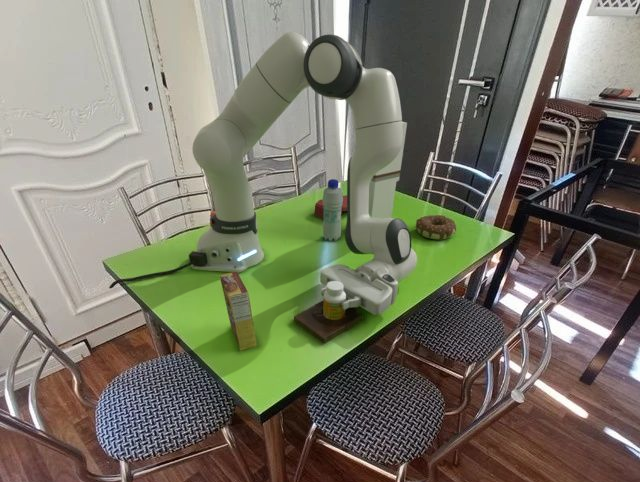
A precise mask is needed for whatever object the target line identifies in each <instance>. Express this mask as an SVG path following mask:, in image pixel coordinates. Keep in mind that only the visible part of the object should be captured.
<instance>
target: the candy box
mask: <svg viewBox="0 0 640 482" xmlns="http://www.w3.org/2000/svg"><path fill="white" fill-rule="evenodd" d="M219 279H220V284H221V288H222V292H223V297H224V301H225V306H226V310H227V315H228V319H229V325H230V328H231V331H232V334H233V336H234V338H235V340H236V343H237V346H238V349H239V351H241V352H243V351H245V350H249V349H252V348H256V347H257V346H258V345H257V339H256V332H255V325H254V320H253V319H254V318H253V313H252V312H253V311H252V307H251V301H250V300H251V299H250V295H249V291H248V289H247V287H246V285H245V284H244V282H243V281H242V278H241V276H240V275H239V272H226V273H224V274H220V275H219Z"/></svg>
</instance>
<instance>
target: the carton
mask: <svg viewBox="0 0 640 482" xmlns="http://www.w3.org/2000/svg"><path fill="white" fill-rule="evenodd" d="M314 204H315V205H314V211H313V216H315V217H318V218H319V219H320V218H321V219H322V220H324V206H323V200H322V199H319V200H318V201H316V202H315V203H314ZM342 212H347V194H346V195H343V205H342V208H341V213H342Z"/></svg>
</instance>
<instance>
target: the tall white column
mask: <svg viewBox="0 0 640 482" xmlns="http://www.w3.org/2000/svg"><path fill="white" fill-rule="evenodd" d="M400 122H402V127H403V142H402V147H401V150H400V152H399V153H398V155H397V157H396V158H395V159H394V160H393V161H392V162H391V163H390V164H389V165H387V166H386V167H384V168H383V169H381V170H380V171H378V172H377V173H376V174H375V175H374V176H373V177H372V179H371V181H370V184H369V207H368V213H369V216H370V217H371V218H393V217H392V216H393V212H394V211H393V210H394V202H395V197H396V196H395V195H396V189H397V188H396V187H397V182H399V181H400V178H401V177H400V176H401V169H402V164H403V163H402V162H403V157H404V148H405V142H406V134H407V129H408V128H407V127H408V122H405V121H403V120H402V121H400ZM357 130H358V129H357Z"/></svg>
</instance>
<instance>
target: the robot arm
mask: <svg viewBox="0 0 640 482" xmlns="http://www.w3.org/2000/svg"><path fill="white" fill-rule="evenodd" d="M309 87H310V88H311V90H313V91H314V92H315V93H316V94H318V95H319V96H323V98H326V99H329V100H338V101H346V102H347V103H348V105H349V108H350V110H351V115H352V122H353V123H352V124H353V135H354V143H353V150H352V154H351V157H350V158H349V161H348V164H347V170H346V171H347V175H346V185H347V186H346V195H347V211H346V224H345V230H344V240H345V243H346V245H347V248H348V249H349V250H350V252H352V253H353V254H355V255H373V258H372V259H371V260H369V261H367V262H366V261H365V262H364V263H362V264H360V265H358V266H357V267H356V268H355V269H353V268H351V267H349V266H348V265H346V264H341V263H340V264H334V265H331V266H328V267H325V268H323V269H321V271H320V273H319V281H320V284H322V285H324V287H323V288H321V289H320V296H321V297H323V298H324V293H325V291H326V290H327V289H326V288H327V284H328V283H329V282H331V281H338V282H341V283H342V284H343V286H344V290H343V291H344V292H345V294H346V299H344V300H342V301H341V302H340V307H341V308H343V309H344V310H345V309H347V308H349V307H350V308H351V307H355V308H359V307H360V308H362V309H363V310H365V311H367V312H368V313H370V314H371V315H376V316H378V315H381V314H383V313H384V312H386V311H387V310H388V309H389V308H390V307H391V306H392V305H394V304H395V303H396V300H397V296H398V291H399V283H400V282H403V281H404V280H405V279H407V278H408V277H409V276H411V275H412V273H413V272H414V271H415V270H416V268H417V264H418V256H417V253H416V252H415V250H414V249H413V248H412V236H411V232H410V228H409V226H408V225H407V224H406V222H405V221H404V220H403V219H401V218H394V217H392V218H371V217H370V216H369V213H368V207H369V184H370V181H371V179H372V177H373V176H374V175H375V174H376V173H377V172H378V171H380V170H381V169H383V168H384V167H386V166H387V165H389V164H390V163H391V162H392V161H393V160H394V159H395V158H396V157H397V155H398V153H399V152H400V150H401V147H402V142H403V127H402V122H403V114H402V106H401V99H400V93H399V88H398V85H397V81H396V77H395V76H394V74H393V73H392V71H390V70H389V69H386V68H383V67H373V68H365V64H364V61H363V59H362V57H361V55H360V54H359V52H358V50H357V49H356V48H355V47H354V46H353V45H352V43H350V42H348V41H346V40H345V39H344V38H342V36H340V35H336V34H331V33H329V34H323V35H320V36H317V37H316V38H315V39H314V40H313V41H311V43H310V42H309V40H308V39H307V38H306V37H304V35H302V34H300V33H298V32H296V31H287V32H285V33H284V34H283V35H282V36H280V37H279V38H278V39H276V40H275V42H273V43H272V44H271V45H270V47H268V48H267V49H266V50H265V52H263V54H262V55H261V56H260V57H259V59H258V60H257V61H256V62H255V64H254V65H253V66H252V67H251V69H250V70H249V71H248V73H247V74H246V75H245V77H244V78H243V79H242V80H241V82H240V83H239V84H238V86H237V87H236V88H235V90H234V92H233V94H232V95H231V97H230V99H229V101H228V102H227V103H226V105H225V107H224V108H223V110H222V111H221V113H220V114H219V115H218V116H217V117H216V118H215V119H213V121H211V122H209V123H207V124H206V125H205V126H203V127H201V128H200V129H199V131H198V132H197V134H196V135H195V138H194V140H193V142H192V155H193V158H194V160H195V162H196V164H197V165H198V166H199V167H200V168H201V169H202V170H203V172H204V175H205V177H206V180H207V182H208V185H209V188H210V192H211V196H212V201H213V205H214V206H213V207H214V210H212V211H211V212H210V215H209V217H210V218H209V226H210V228H208V229H207V230H206V231H205V232H204V233H202V234H201V235H200V236H199V238H198V240H197V243H196V247H195V249H194V250H193V251H191V252H190V253H189V254H188V259H189V262H187V263H186V264H183V265H181V266H179V267H176V268H174V269H170V270H165V271H159V272H158V271H157V272H153V273H148V274H143V275H139V276H134V277H129V278H119V279H117V280H114V281H113V282H112V283H111V284H110V285H109V286H108V288H109V289H114V287H116V285H118V284H120V283H128V282H135V281H139V280H142V279H147V278H152V277H159V276H164V275H169V274H174V273H176V272H179V271H181V270H184V269H186V268H188V267H191V268H192V270H196V271H210V272H223V273H232V272H238V273H242V272H244V271H245V270H247V269H248V268H251V267H254V266H256V265H258V264H260V263H261V262H262V261H263V260H264V258H265V253H264V251H263V248H262V246H261V243H260V239H259V235H258V230H259V227H258V217H257V214H256V211H255V208H254V197H253V188H252V185H251V183H250V182H249V180H248V177H247V173H246V170H245V166H244V158H245V157H246V155H248V153H249V152H250V151H251V150H252V149H253V148H254V146H255V145H256V144H257V143H258V142H259V141H260V140H261V139H262V137H264V135H265V134H266V133H267V131H268V130H270V128H271V127H272V126H273V125H274V124H275V122H276V121H277V120H278V119H279V118H280V116H282V114H283V113H284V112H285V111H286V110H287V109H288V107H289V106H290V105H291V104H292V103H293V102H294V101H295V99H296V98H297V97H298V96H299V95H300V94H301V93H302V92H303V91H304V90H305V89H307V88H309ZM400 121H402V122H400ZM357 129H358V130H357Z"/></svg>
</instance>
